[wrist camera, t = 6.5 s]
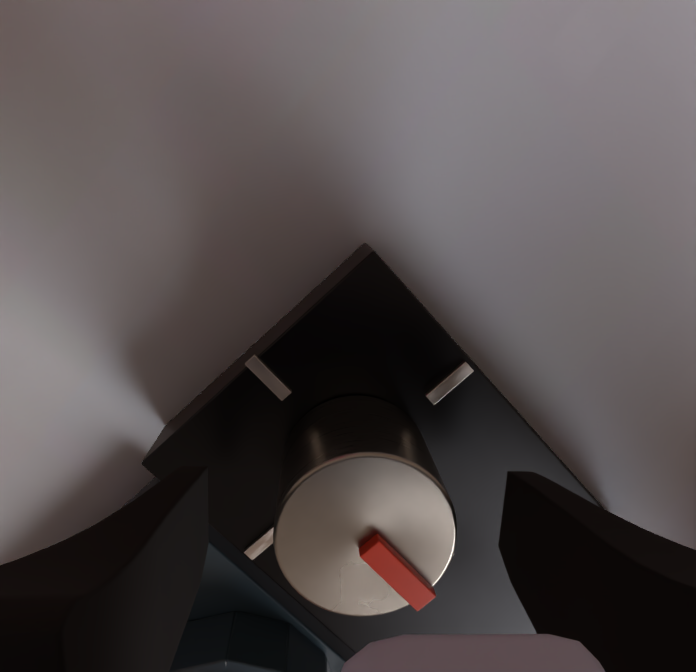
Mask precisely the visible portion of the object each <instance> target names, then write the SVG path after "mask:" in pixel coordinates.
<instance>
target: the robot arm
mask: <svg viewBox="0 0 696 672" xmlns="http://www.w3.org/2000/svg"><path fill="white" fill-rule="evenodd" d="M208 544H209V533H208V466H181V467H179V468H177V469H176V470H174V471H173V472H172V473H170V474H169V475H168V476H166V477H165V478H164V479H162V480H161V481H160V482H158V483H157V484H156V485H154V486H153V487H151V488H150V489H149V490H147V491H146V492H145V493H143V494H142V495H140V496H139V497H138V498H136V499H135V500H133V501H132V502H130V503H129V504H127V505H126V506H124V507H122V508H121V509H119V510H118V511H116V512H115V513H113V514H112V515H110V516H108V517H107V518H105V519H104V520H102V521H100V522H99V523H97V524H95V525H93V526H91V527H90V528H88V529H86V530H84V531H82V532H80V533H78V534H76V535H74V536H72V537H70V538H68V539H66V540H64V541H62V542H59V543H57V544H55V545H52V546H50V547H47V548H45V549H42V550H40V551H38V552H35V553H33V554H30V555H28V556H26V557H23V558H20V559H18V560H15V561H12V562H9V563H6V564H3V565H0V672H169V671H170V668H171V665H172V662H173V659H174V656H175V654H176V651H177V648H178V645H179V642H180V640H181V637H182V634H183V631H184V628H185V625H186V623H187V620H188V617H189V614H190V611H191V608H192V606H193V603H194V600H195V597H196V594H197V591H198V588H199V585H200V582H201V578H202V574H203V569H204V564H205V559H206V554H207V549H208ZM498 547H499V550H500V553H501V556H502V559H503V562H504V565H505V568H506V571H507V573H508V576H509V579H510V582H511V584H512V586H513V588H514V590H515V592H516V594H517V596H518V598H519V600H520V602H521V604H522V606H523V608H524V610H525V612H526V613H527V615H528V617H529V619H530V621H531V623H532V625H533V627H534V629H535V631H536V633H537V634H430V635H400V636H396V637H392V638H387V639H383V640H379V641H374V642H370V643H369V644H367V645H366V646H365V647H364V648H363V649H361V650H360V651H359V652H358V653H356V654H355V655H354V656H353V657H351V658H350V659H349V660H348V661H346V662H345V663H344V665H343V668H342V670H341V672H696V550H694V549H691V548H689V547H686V546H683V545H681V544H678V543H676V542H673V541H671V540H668V539H666V538H664V537H661V536H659V535H656V534H654V533H652V532H649V531H647V530H645V529H643V528H640V527H638V526H636V525H634V524H632V523H630V522H628V521H626V520H624V519H622V518H620V517H618V516H616V515H614V514H612V513H610V512H608V511H606V510H604V509H603V508H601V507H599V506H597V505H595V504H593V503H592V502H590V501H588V500H586V499H584V498H582V497H581V496H579V495H577V494H575V493H574V492H572V491H570V490H568V489H566V488H565V487H563V486H561V485H559V484H557V483H555V482H554V481H552V480H550V479H548V478H546V477H544V476H542V475H540V474H537V473H535V472H531V471H507V479H506V487H505V495H504V503H503V511H502V519H501V527H500V535H499V543H498Z"/></svg>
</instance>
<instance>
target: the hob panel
mask: <svg viewBox="0 0 696 672" xmlns="http://www.w3.org/2000/svg"><path fill="white" fill-rule="evenodd" d="M345 396H370V397H374V398H379V399H381V400H384V401H387V402H389V403H391V404H393V405H395V406H397V407H398V408H399V409H401V410H402V411H404V412H405V413H406V414H407V415H408V416H409V417H410V418H411V419H412V420H413V421H414V423H415V424H416V425H417V427H418V428H419V430H420V432H421V434H422V436H423V438H424V441H425V443H426V445H427V447H428V450H429V452H430V454H431V456H432V459H433V461H434V463H435V465H436V468H437V470H438V472H439V474H440V477H441V479H442V481H443V483H444V486H445V488H446V490H447V492H448V494H449V497H450V499H451V501H452V504H453V506H454V510H455V514H456V519H457V541H456V546H455V550H454V553H453V556H452V559H451V562H450V564H449V566H448V568H447V570H446V571H445V573H444V574H443V576H442V577H441V579H440V580H439V581H438V582H437V583H436V585H435V586H434V587H433V588H434V591H435V594H436V597H435V598H434V599H433V600H431V601H430V602H429V603H428V604H426V605H425V606H424V607H423V608H421V609H420V610H419V611H416V610H415V609H414V608H413V607H412V606H411V605H408V606H406V607H404V608H401V609H399V610H396V611H394V612H390V613H386V614H382V615H376V616H364V617H358V616H347V615H341V614H337V613H333V612H330V611H327V610H325V609H322V608H320V607H318V606H316V605H314V604H313V603H311V602H309V601H308V600H306V599H305V598H304V597H303V596H301V595H300V594H299V593H298V592H297V591H296V590H295V589H294V588H293V587H292V586H291V585H290V583H289V582H288V580H287V579H286V578H285V576H284V574H283V573H282V571H281V569H280V567H279V564H278V562H277V559H276V556H275V551H274V546H273V530H274V521H275V513H276V505H277V497H278V489H279V481H280V473H281V465H282V457H283V451H284V447H285V444H286V442H287V439H288V437H289V435H290V433H291V431H292V430H293V428H294V427H295V426H296V424H297V423H298V422H299V421H300V420H301V419H302V418H303V417H304V416H305V415H306V414H307V413H308V412H309V411H311V410H312V409H313V408H315V407H317V406H319V405H320V404H322V403H325V402H327V401H329V400H332V399H336V398H339V397H345ZM142 465H143V466H144V467H145V468H147V469H148V470H149V471H150V472H151V473H152V474H153V475H154V476H156V477H157V478H158V479H159V480H160V481H161V480H162V479H164V478H165V477H166V476H168V475H169V474H170V473H172V472H173V471H174V470H176V469H177V468H179V467H181V466H208V523H209V524H210V525H211V526H212V527H213V528H214V529H215V530H217V531H218V532H219V533H220V534H221V535H222V536H223V537H225V538H226V539H227V540H228V541H229V542H230V543H231V544H232V545H234V546H235V547H236V548H237V549H238V550H239V551H240V552H241V553H243V554H244V555H245V556H246V557H247V558H248V559H249V560H251V561H252V562H253V563H254V564H255V565H256V566H257V567H258V568H260V569H261V570H262V571H263V572H264V573H265V574H266V575H267V576H269V577H270V578H271V579H272V580H273V581H274V582H275V583H277V584H278V585H279V586H280V587H281V588H282V589H283V590H284V591H286V592H287V593H288V594H289V595H290V596H291V597H292V598H293V599H295V600H296V601H297V602H298V603H299V604H300V605H301V606H303V607H304V608H305V609H306V610H307V611H308V612H309V613H310V614H312V615H313V616H314V617H315V618H316V619H317V620H318V621H319V622H321V623H322V624H323V625H324V626H325V627H326V628H327V629H328V630H330V631H331V632H332V633H333V634H334V635H335V636H336V637H338V638H339V639H340V640H341V641H342V642H343V643H344V644H345V645H347V646H348V647H349V648H350V649H351V650H352V651H353V652H354V653H358V652H359V651H360V650H361V649H363V648H364V647H365V646H366V645H367V644H369V643H370V642H374V641H379V640H383V639H387V638H392V637H396V636H400V635H430V634H537V633H536V631H535V629H534V627H533V625H532V623H531V621H530V619H529V617H528V615H527V613H526V612H525V610H524V608H523V606H522V604H521V602H520V600H519V598H518V596H517V594H516V592H515V590H514V588H513V586H512V584H511V582H510V579H509V576H508V573H507V571H506V568H505V565H504V562H503V559H502V556H501V553H500V550H499V547H498V543H499V535H500V527H501V519H502V511H503V503H504V495H505V487H506V479H507V471H531V472H535V473H537V474H540V475H542V476H544V477H546V478H548V479H550V480H552V481H554V482H555V483H557V484H559V485H561V486H563V487H565V488H566V489H568V490H570V491H572V492H574V493H575V494H577V495H579V496H581V497H582V498H584V499H586V500H588V501H590V502H592V503H593V504H595V505H597V506H599V507H601V508H603V507H602V506H601V505H600V504H599V502H598V501H597V500H596V499H595V498H594V497H593V496H592V495H591V493H590V492H589V491H588V490H587V489H586V488H585V487H584V486H583V484H582V483H581V482H580V481H579V480H578V479H577V478H576V477H575V476H574V474H573V473H572V472H571V471H570V470H569V469H568V468H567V467H566V465H565V464H564V463H563V462H562V461H561V460H560V459H559V458H558V456H557V455H556V454H555V453H554V452H553V451H552V450H551V449H550V447H549V446H548V445H547V444H546V443H545V442H544V441H543V440H542V438H541V437H540V436H539V435H538V434H537V433H536V432H535V431H534V429H533V428H532V427H531V426H530V425H529V424H528V423H527V422H526V421H525V419H524V418H523V417H522V416H521V415H520V414H519V413H518V412H517V410H516V409H515V408H514V407H513V406H512V405H511V404H510V403H509V401H508V400H507V399H506V398H505V397H504V396H503V395H502V394H501V392H500V391H499V390H498V389H497V388H496V387H495V386H494V385H493V383H492V382H491V381H490V380H489V379H488V378H487V377H486V376H485V375H484V373H483V372H482V371H481V370H480V369H479V368H478V367H477V366H476V364H475V363H474V362H473V361H472V360H471V359H470V358H469V357H468V355H467V354H466V353H465V352H464V351H463V350H462V349H461V348H460V346H459V345H458V344H457V343H456V342H455V341H454V340H453V339H452V337H451V336H450V335H449V334H448V333H447V332H446V331H445V330H444V329H443V327H442V326H441V325H440V324H439V323H438V322H437V321H436V320H435V318H434V317H433V316H432V315H431V314H430V313H429V312H428V311H427V309H426V308H425V307H424V306H423V305H422V304H421V303H420V302H419V300H418V299H417V298H416V297H415V296H414V295H413V294H412V293H411V291H410V290H409V289H408V288H407V287H406V286H405V285H404V284H403V282H402V281H401V280H400V279H399V278H398V277H397V276H396V275H395V274H394V272H393V271H392V270H391V269H390V268H389V267H388V266H387V265H386V263H385V262H384V261H383V260H382V259H381V258H380V257H379V256H378V254H377V253H376V252H375V251H374V250H373V249H372V248H371V247H370V246H368V245H367V244H366V243H364V244H363V245H362V246H361V247H359V248H358V249H357V250H356V251H355V252H354V253H353V254H352V255H351V256H350V257H349V258H347V259H346V260H345V261H344V262H343V263H342V264H341V265H340V266H339V267H338V268H337V269H335V270H334V271H333V272H332V273H331V274H330V275H329V276H328V277H327V278H326V279H325V280H324V281H322V282H321V283H320V284H319V285H318V286H317V287H316V288H315V289H314V290H313V291H312V292H310V293H309V294H308V295H307V296H306V297H305V298H304V299H303V300H302V301H301V302H300V303H298V304H297V305H296V306H295V307H294V308H293V309H292V310H291V311H290V312H289V313H288V314H286V315H285V316H284V317H283V318H282V319H281V320H280V321H279V322H278V323H277V324H276V325H274V326H273V327H272V328H271V329H270V330H269V331H268V332H267V333H266V334H265V335H264V336H263V337H261V338H260V339H259V340H258V341H257V342H256V343H255V344H254V345H253V346H252V347H251V348H249V349H248V350H247V351H246V352H245V353H244V354H243V355H242V356H241V357H240V358H239V359H237V360H236V361H235V362H234V363H233V364H232V365H231V366H230V367H229V368H228V369H227V370H225V371H224V372H223V373H222V374H221V375H220V376H219V377H218V378H217V379H216V380H215V381H213V382H212V383H211V384H210V385H209V386H208V387H207V388H206V389H205V390H204V391H203V392H202V393H200V394H199V395H198V396H197V397H196V398H195V399H194V400H193V401H192V402H191V403H190V404H188V405H187V406H186V407H185V408H184V409H183V410H182V411H181V412H180V413H179V414H178V415H176V416H175V417H174V418H173V419H172V420H171V421H170V422H169V423H168V424H167V425H166V426H165V427H164V429H163V430H162V432H161V433H160V435H159V436H158V438H157V439H156V441H155V442H154V444H153V445H152V447H151V449H150V450H149V452H148V453H147V455H146V456H145V458H144V459H143V461H142ZM603 509H604V508H603ZM604 510H605V509H604Z"/></svg>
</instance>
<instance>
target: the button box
mask: <svg viewBox="0 0 696 672" xmlns="http://www.w3.org/2000/svg"><path fill="white" fill-rule="evenodd" d="M158 482H160V480H159V479H158V478H157V477H155V478H154V479H153V480H152V481H151V482H150V483H148V484H147V485H146V486H145V487H144V488H143V489H142V490H141V491H140V492H139V493H137V494H136V495H135V496H134V497H133V498H132V499H131V500H130V501H129V502H127V503H126V504H125V505H124V506H126V505H127V504H129V503H130V502H132V501H133V500H135V499H136V498H138V497H139V496H140V495H142V494H143V493H145V492H146V491H147V490H149V489H150V488H151V487H153V486H154V485H156V484H157V483H158ZM124 506H123V507H124ZM208 533H209V544H208V549H207V554H206V559H205V564H204V569H203V574H202V578H201V582H200V585H199V588H198V591H197V594H196V597H195V600H194V603H193V606H192V608H191V611H190V614H189V617H188V620H187V623H186V625H185V628H184V631H183V634H182V637H181V640H180V642H179V645H178V648H177V651H176V654H175V656H174V659H173V662H172V665H171V668H170V671H169V672H341V670H342V668H343V665H344V663H345V662H346V661H348V660H349V659H350V658H351V657H353V656H354V655H355V654H356V653H354V652H353V651H352V650H351V649H350V648H349V647H348V646H347V645H345V644H344V643H343V642H342V641H341V640H340V639H339V638H338V637H336V636H335V635H334V634H333V633H332V632H331V631H330V630H328V629H327V628H326V627H325V626H324V625H323V624H322V623H321V622H319V621H318V620H317V619H316V618H315V617H314V616H313V615H312V614H310V613H309V612H308V611H307V610H306V609H305V608H304V607H303V606H301V605H300V604H299V603H298V602H297V601H296V600H295V599H293V598H292V597H291V596H290V595H289V594H288V593H287V592H286V591H284V590H283V589H282V588H281V587H280V586H279V585H278V584H277V583H275V582H274V581H273V580H272V579H271V578H270V577H269V576H267V575H266V574H265V573H264V572H263V571H262V570H261V569H260V568H258V567H257V566H256V565H255V564H254V563H253V562H252V561H251V560H249V559H248V558H247V557H246V556H245V555H244V554H243V553H241V552H240V551H239V550H238V549H237V548H236V547H235V546H234V545H232V544H231V543H230V542H229V541H228V540H227V539H226V538H225V537H223V536H222V535H221V534H220V533H219V532H218V531H217V530H215V529H214V528H213V527H212V526H211V525H210V524H209V523H208Z"/></svg>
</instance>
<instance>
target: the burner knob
mask: <svg viewBox="0 0 696 672" xmlns="http://www.w3.org/2000/svg"><path fill="white" fill-rule="evenodd" d="M456 541H457V519H456V514H455V510H454V506H453V504H452V501H451V499H450V497H449V494H448V492H447V490H446V488H445V486H444V483H443V481H442V479H441V477H440V474H439V472H438V470H437V468H436V465H435V463H434V461H433V459H432V456H431V454H430V452H429V450H428V447H427V445H426V443H425V441H424V438H423V436H422V434H421V432H420V430H419V428H418V427H417V425H416V424H415V423H414V421H413V420H412V419H411V418H410V417H409V416H408V415H407V414H406V413H405V412H404V411H402V410H401V409H399V408H398V407H397V406H395V405H393V404H391V403H389V402H387V401H384V400H381V399H379V398H374V397H370V396H345V397H339V398H336V399H332V400H329V401H327V402H325V403H322V404H320V405H319V406H317V407H315V408H313V409H312V410H311V411H309V412H308V413H307V414H306V415H305V416H304V417H303V418H302V419H301V420H300V421H299V422H298V423H297V424H296V426H295V427H294V428H293V430H292V431H291V433H290V435H289V437H288V439H287V442H286V444H285V447H284V451H283V457H282V465H281V473H280V481H279V489H278V497H277V505H276V513H275V521H274V530H273V546H274V551H275V556H276V559H277V562H278V564H279V567H280V569H281V571H282V573H283V574H284V576H285V578H286V579H287V580H288V582H289V583H290V585H291V586H292V587H293V588H294V589H295V590H296V591H297V592H298V593H299V594H300V595H301V596H303V597H304V598H305V599H306V600H308V601H309V602H311V603H313V604H314V605H316V606H318V607H320V608H322V609H325V610H327V611H330V612H333V613H337V614H341V615H347V616H358V617H364V616H376V615H382V614H386V613H390V612H394V611H396V610H399V609H401V608H404V607H406V606H408V605H411V606H412V607H413V608H414V609H415V610H416V611H419V610H420V609H421V608H423V607H424V606H425V605H426V604H428V603H429V602H430V601H431V600H433V599H434V598H435V597H436V594H435V591H434V588H433V587H434V586H435V585H436V583H437V582H438V581H439V580H440V579H441V577H442V576H443V574H444V573H445V571H446V570H447V568H448V566H449V564H450V562H451V559H452V556H453V553H454V550H455V546H456Z"/></svg>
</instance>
